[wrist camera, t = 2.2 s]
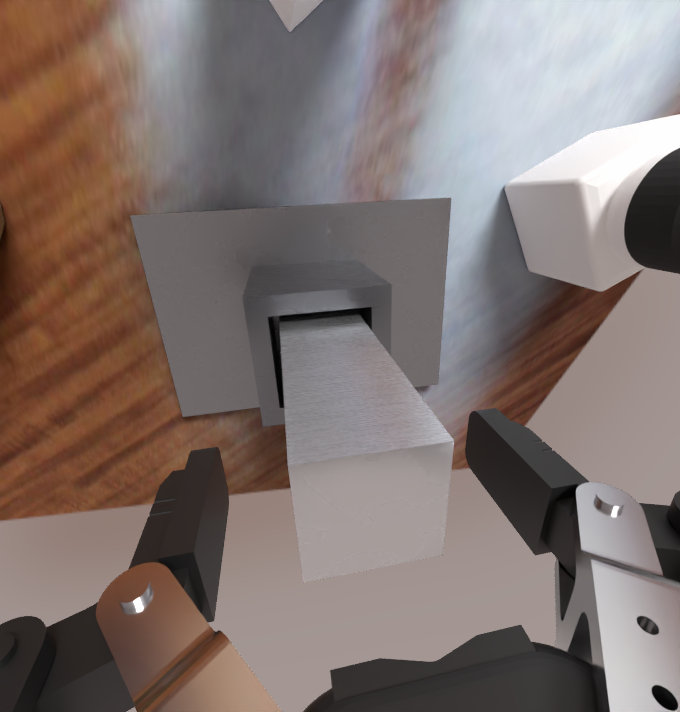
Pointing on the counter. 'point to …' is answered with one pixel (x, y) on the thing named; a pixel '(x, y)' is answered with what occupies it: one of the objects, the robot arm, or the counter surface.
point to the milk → (294, 10)
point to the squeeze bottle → (1, 221)
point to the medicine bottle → (603, 206)
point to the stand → (290, 290)
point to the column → (359, 450)
